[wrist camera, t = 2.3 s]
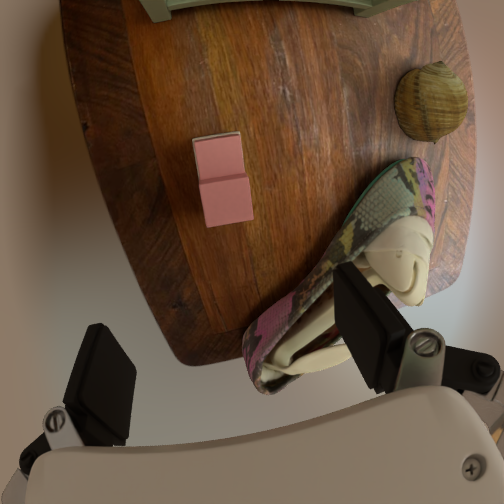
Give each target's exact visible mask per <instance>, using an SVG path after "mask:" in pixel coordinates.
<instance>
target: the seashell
mask: <svg viewBox="0 0 504 504" xmlns="http://www.w3.org/2000/svg"><path fill="white" fill-rule="evenodd" d="M394 102H395V110H396V115H397V118H398V122H399V125H400V127H401V128H402V129H403V131H404V132H405V133H406V135H408V136H409V137H410V138H412V139H413V140H419V141H426V142H434V144H435V143H437V142H438V140H439V139H440V137H442V136H444V135H447V134H449V133H451V132H453V131H454V130H456V129H457V128H458V126H459V125H460V124H461V123H462V121H463V120H464V118H465V116H466V113H467V109H468V96H467V91H466V89H465V85H464V84H463V82H462V81H461V79H460V78H459V77H458V76H457V75H456V74H455V73H453V72H452V71H451V70H450V69H449V68H448V67H447V66H446V65H445V64H444V63H443V62H442V61H439V62H436V63H433V64H427V65H425V66H423V68H422V70H419V69H414V70H412V71H410V72H408V73H407V74H406V75H405V76H404V77H402V79H401V81H400V82H399V84H398V88H397V90H396V95H395V101H394Z"/></svg>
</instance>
